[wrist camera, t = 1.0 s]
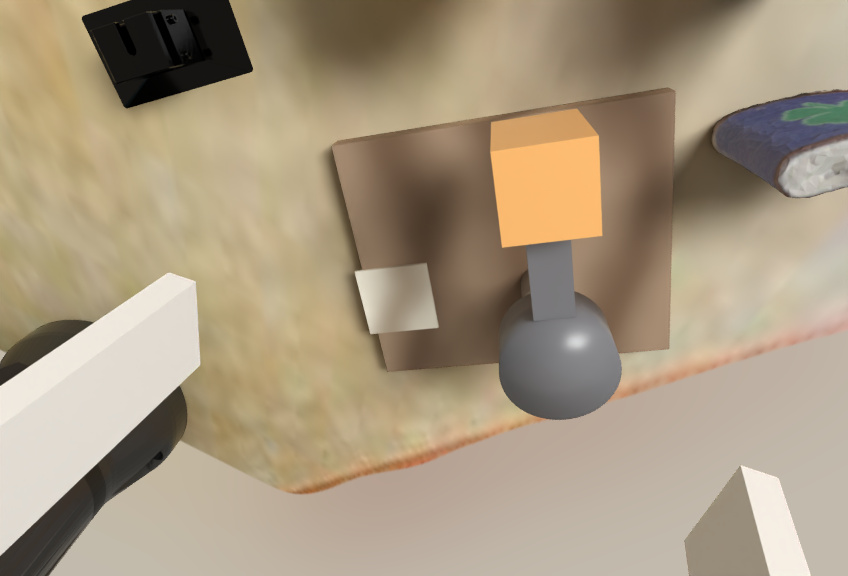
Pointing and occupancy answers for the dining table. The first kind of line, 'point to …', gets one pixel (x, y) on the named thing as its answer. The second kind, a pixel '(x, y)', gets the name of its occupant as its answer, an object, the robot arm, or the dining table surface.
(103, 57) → the black rounded lump
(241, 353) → the dining table surface
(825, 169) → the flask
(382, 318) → the post base
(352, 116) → the dining table surface
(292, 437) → the dining table surface
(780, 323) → the dining table surface
